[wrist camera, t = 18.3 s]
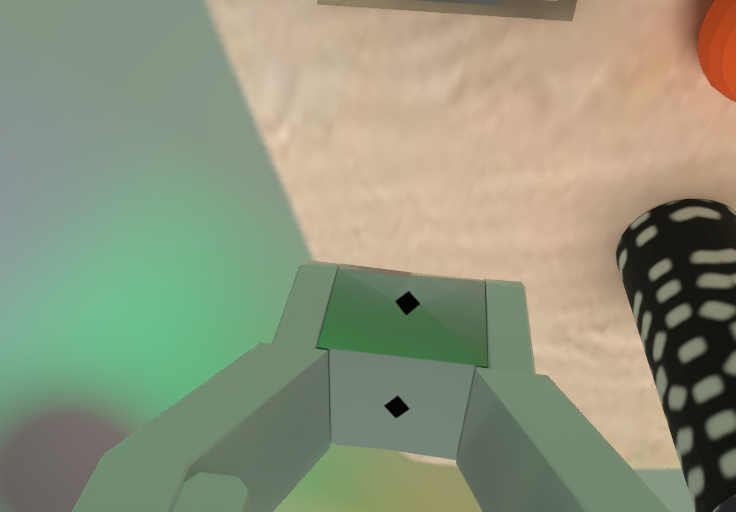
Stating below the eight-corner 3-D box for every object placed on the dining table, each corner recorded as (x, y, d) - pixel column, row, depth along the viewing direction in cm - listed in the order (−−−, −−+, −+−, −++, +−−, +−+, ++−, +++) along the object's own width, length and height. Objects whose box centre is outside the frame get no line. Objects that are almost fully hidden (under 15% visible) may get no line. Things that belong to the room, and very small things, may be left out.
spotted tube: (692, 175, 38) (849, 447, 22) (774, 243, 40) (969, 533, 25) (590, 254, 43) (662, 523, 27) (669, 311, 45) (777, 590, 29)
